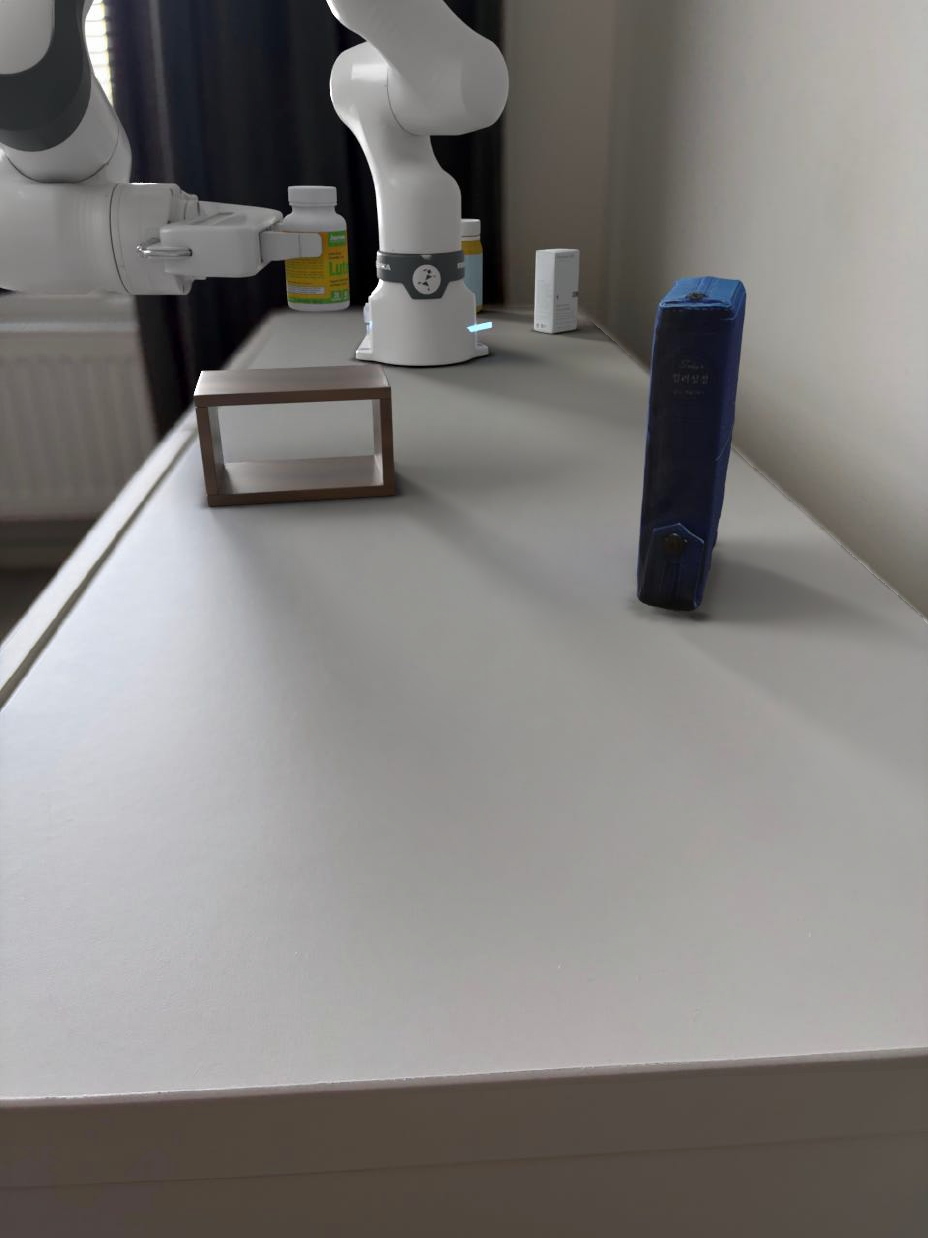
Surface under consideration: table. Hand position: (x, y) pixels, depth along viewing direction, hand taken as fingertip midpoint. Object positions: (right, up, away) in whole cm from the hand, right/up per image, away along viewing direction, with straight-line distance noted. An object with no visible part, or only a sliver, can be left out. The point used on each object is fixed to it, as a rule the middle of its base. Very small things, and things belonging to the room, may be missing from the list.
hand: (325, 240), depth 82 cm
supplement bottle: (-1, -5, +2) cm, 6 cm away
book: (+27, -29, -13) cm, 42 cm away
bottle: (+12, +22, +89) cm, 92 cm away
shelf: (-3, -20, +5) cm, 21 cm away
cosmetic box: (+27, +14, +72) cm, 78 cm away
